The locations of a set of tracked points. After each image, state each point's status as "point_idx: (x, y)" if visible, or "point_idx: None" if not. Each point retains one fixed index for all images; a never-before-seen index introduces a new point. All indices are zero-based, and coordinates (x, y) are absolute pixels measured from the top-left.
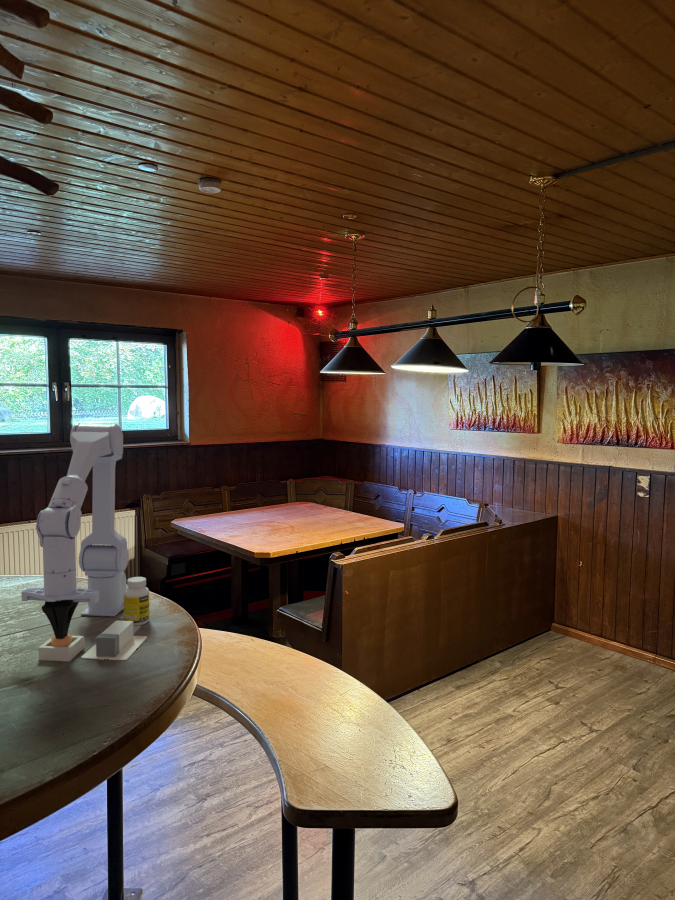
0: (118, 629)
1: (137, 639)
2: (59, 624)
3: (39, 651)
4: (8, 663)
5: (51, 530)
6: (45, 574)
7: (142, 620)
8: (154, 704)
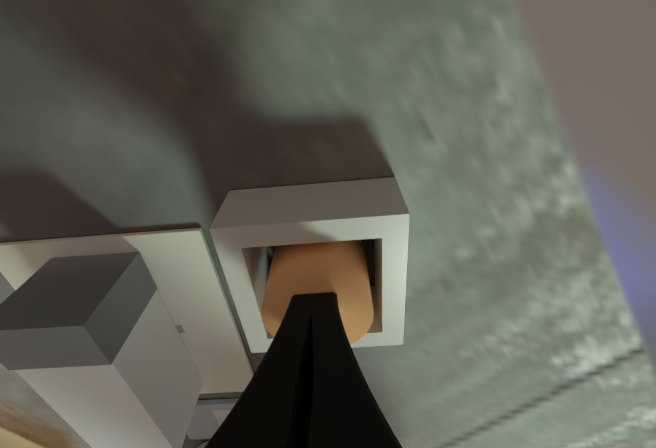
0: (79, 405)
1: None
2: (281, 379)
3: (397, 200)
4: (548, 111)
5: None
6: None
7: None
8: None
